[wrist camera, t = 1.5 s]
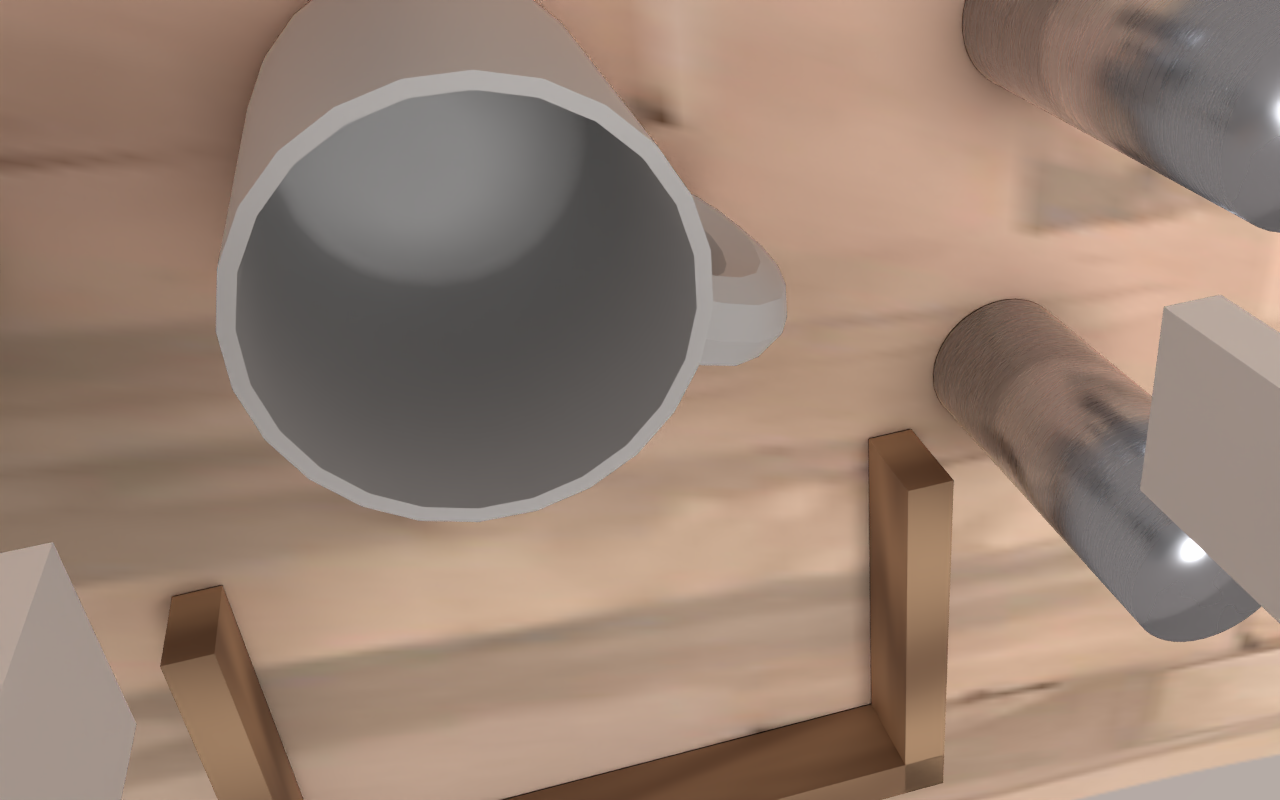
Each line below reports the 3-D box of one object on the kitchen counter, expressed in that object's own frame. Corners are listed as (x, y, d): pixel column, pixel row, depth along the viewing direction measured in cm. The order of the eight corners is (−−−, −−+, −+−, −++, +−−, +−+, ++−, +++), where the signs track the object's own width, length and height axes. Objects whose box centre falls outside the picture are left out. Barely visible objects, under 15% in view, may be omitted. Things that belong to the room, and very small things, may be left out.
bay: (171, 597, 29) (159, 666, 27) (911, 429, 32) (953, 480, 29) (289, 885, 35) (288, 961, 32) (907, 722, 37) (943, 782, 35)
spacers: (-539, -372, 18) (-1182, -438, 10) (1163, -555, 22) (1617, -699, 14) (-4, 647, 28) (-122, 987, 21) (1072, 401, 32) (1303, 612, 25)
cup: (283, -96, 22) (263, 3, 15) (760, 48, 26) (944, 187, 18) (220, 257, 25) (178, 489, 18) (656, 342, 29) (776, 567, 21)
